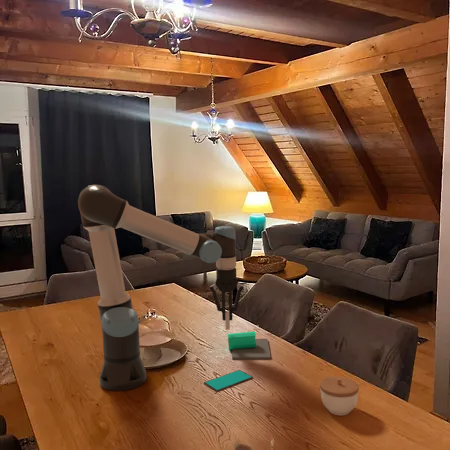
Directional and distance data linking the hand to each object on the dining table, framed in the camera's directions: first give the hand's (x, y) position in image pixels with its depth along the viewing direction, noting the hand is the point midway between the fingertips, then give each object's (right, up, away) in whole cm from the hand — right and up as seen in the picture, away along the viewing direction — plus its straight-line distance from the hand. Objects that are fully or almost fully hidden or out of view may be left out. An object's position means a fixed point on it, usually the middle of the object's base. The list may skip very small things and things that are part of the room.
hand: (227, 328), depth 182 cm
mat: (+9, -8, +1) cm, 12 cm away
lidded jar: (+32, -14, -44) cm, 56 cm away
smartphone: (0, -13, -25) cm, 28 cm away
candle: (0, -5, +1) cm, 5 cm away
